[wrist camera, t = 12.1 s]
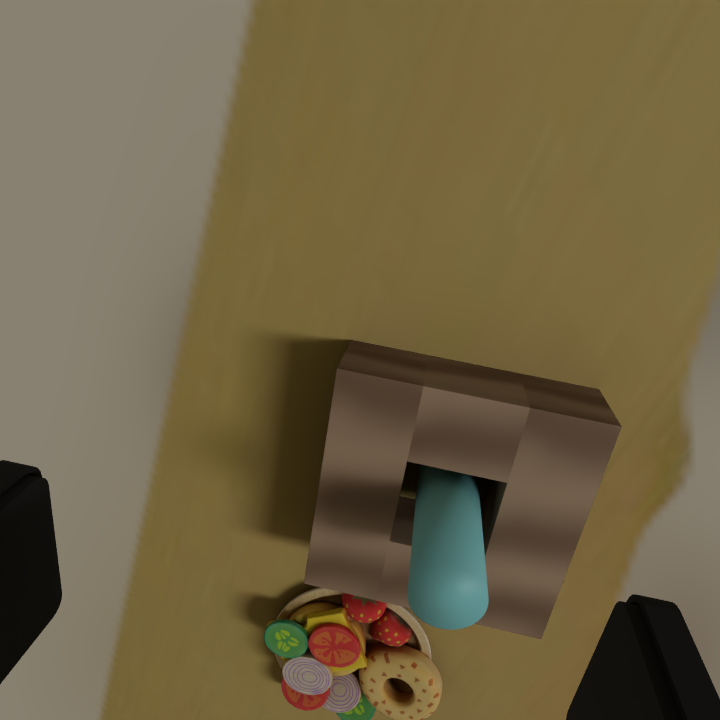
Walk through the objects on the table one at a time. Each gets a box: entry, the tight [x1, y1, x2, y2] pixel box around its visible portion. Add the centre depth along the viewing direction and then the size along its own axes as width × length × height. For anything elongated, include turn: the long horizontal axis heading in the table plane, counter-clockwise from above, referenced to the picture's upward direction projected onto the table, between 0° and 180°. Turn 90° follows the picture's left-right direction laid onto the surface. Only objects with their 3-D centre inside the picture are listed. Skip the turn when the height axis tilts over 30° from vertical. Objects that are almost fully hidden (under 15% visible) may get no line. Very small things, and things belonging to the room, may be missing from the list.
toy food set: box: [264, 587, 442, 720], centre depth 45 cm, size 13×13×3 cm
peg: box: [407, 464, 489, 629], centre depth 34 cm, size 4×4×12 cm
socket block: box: [304, 340, 622, 639], centre depth 37 cm, size 16×16×5 cm
